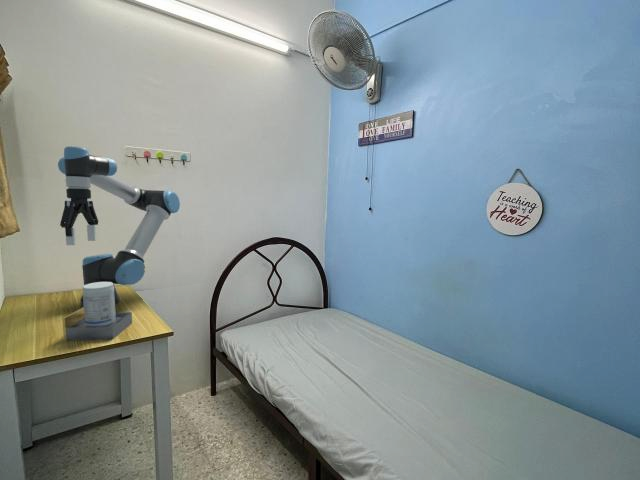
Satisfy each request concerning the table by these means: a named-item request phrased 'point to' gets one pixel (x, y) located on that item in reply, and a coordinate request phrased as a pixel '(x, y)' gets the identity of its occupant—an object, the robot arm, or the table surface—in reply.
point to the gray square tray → (93, 327)
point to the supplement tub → (99, 304)
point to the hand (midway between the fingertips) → (82, 242)
